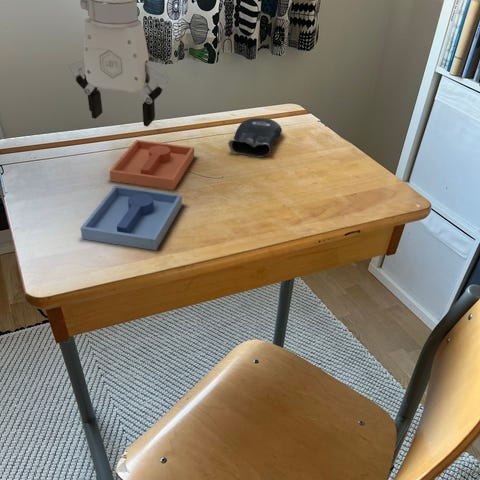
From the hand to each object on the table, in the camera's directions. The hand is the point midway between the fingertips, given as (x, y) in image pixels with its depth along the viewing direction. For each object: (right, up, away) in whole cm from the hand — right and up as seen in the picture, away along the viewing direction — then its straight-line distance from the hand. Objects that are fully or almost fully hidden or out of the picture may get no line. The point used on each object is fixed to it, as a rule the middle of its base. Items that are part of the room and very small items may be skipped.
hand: (122, 119), depth 92 cm
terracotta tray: (+5, -7, +7) cm, 11 cm away
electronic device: (+25, +2, +18) cm, 31 cm away
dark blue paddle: (+4, -19, -7) cm, 21 cm away
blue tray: (+4, -20, -7) cm, 21 cm away
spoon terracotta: (+5, -6, +7) cm, 10 cm away
